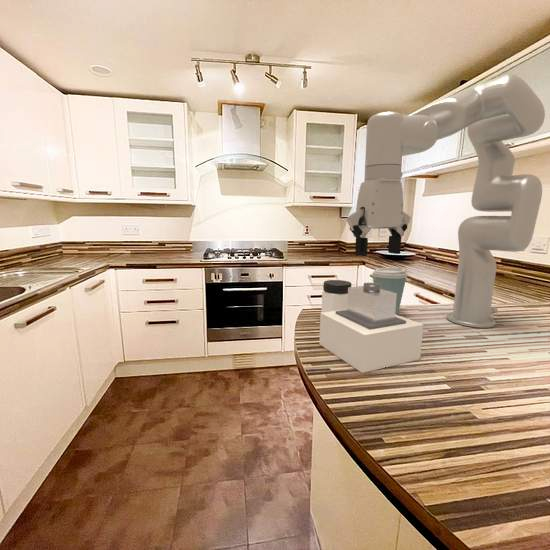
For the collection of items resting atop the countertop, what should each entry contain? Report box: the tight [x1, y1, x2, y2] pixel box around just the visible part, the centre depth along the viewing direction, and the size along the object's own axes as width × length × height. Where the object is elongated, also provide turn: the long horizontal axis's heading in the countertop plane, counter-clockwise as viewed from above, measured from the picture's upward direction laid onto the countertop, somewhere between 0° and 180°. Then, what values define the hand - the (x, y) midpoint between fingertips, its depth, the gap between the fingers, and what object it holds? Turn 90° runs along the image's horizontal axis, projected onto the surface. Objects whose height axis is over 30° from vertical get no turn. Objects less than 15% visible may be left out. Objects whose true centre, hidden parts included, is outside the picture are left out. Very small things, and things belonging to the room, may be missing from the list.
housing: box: [347, 282, 397, 323], centre depth 71 cm, size 6×9×7 cm, turn 25°
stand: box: [318, 309, 424, 374], centre depth 72 cm, size 16×16×9 cm
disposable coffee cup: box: [372, 267, 408, 315], centre depth 101 cm, size 11×11×15 cm
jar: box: [321, 279, 353, 313], centre depth 93 cm, size 9×8×12 cm
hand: (378, 254), depth 71 cm, fingers open, 9 cm apart
